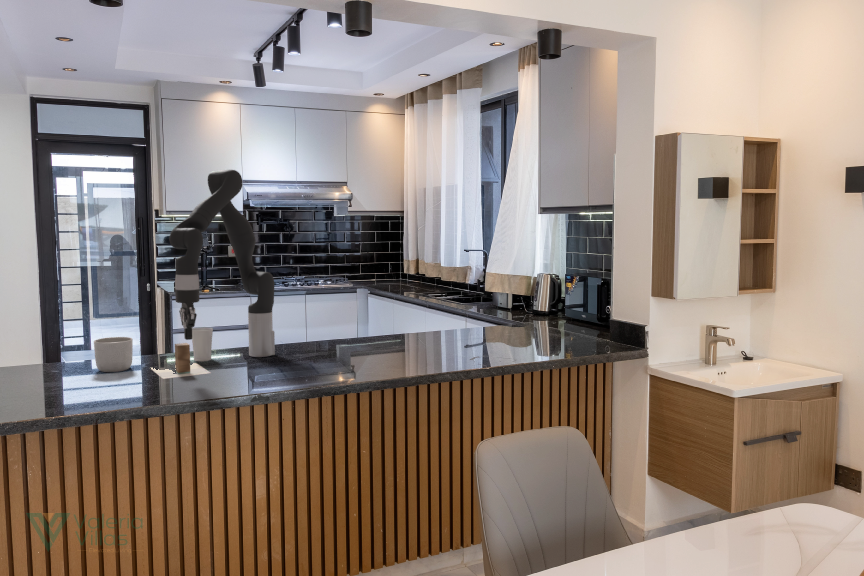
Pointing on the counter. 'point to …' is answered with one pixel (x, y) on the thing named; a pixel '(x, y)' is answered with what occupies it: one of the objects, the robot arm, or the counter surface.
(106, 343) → the planter
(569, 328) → the counter surface
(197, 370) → the cream flat rectangular panel
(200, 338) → the cup
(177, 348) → the walnut block
